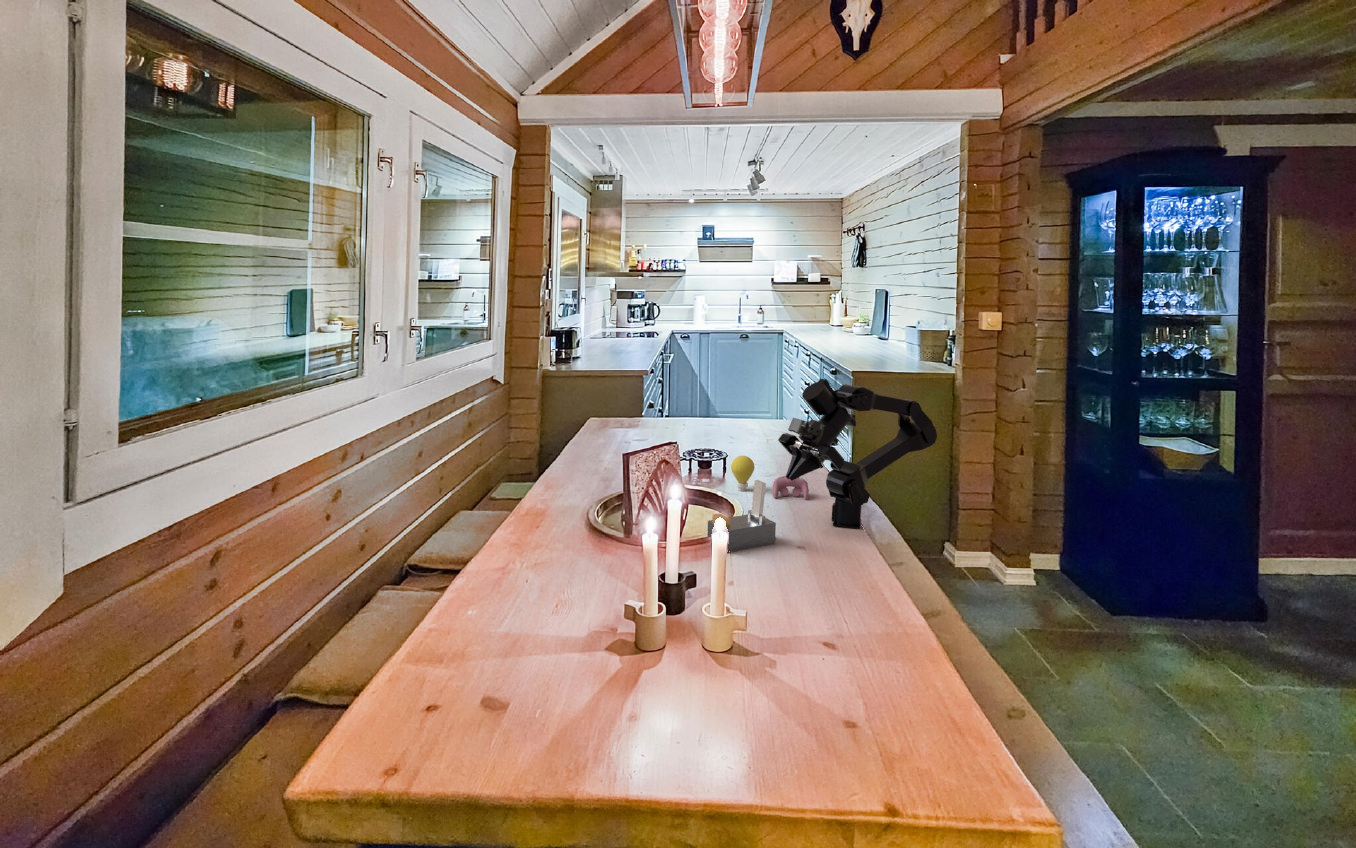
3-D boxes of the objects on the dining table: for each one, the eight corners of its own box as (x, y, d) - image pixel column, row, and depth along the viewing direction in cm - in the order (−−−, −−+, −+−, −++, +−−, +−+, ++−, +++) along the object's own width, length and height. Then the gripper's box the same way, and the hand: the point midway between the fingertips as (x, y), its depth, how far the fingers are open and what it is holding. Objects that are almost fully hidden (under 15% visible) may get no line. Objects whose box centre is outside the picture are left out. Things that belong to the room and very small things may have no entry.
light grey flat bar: (750, 516, 169) (754, 516, 170) (758, 520, 167) (761, 519, 167) (754, 480, 168) (758, 480, 169) (762, 483, 166) (765, 483, 166)
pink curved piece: (807, 502, 206) (807, 477, 208) (809, 499, 201) (809, 474, 203) (771, 501, 207) (772, 476, 209) (772, 498, 202) (773, 473, 204)
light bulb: (754, 493, 208) (755, 458, 206) (730, 493, 208) (731, 458, 206) (752, 487, 215) (753, 453, 213) (729, 486, 215) (730, 453, 213)
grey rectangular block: (755, 533, 174) (756, 504, 173) (775, 544, 167) (776, 514, 166) (707, 541, 168) (708, 512, 167) (726, 553, 161) (726, 522, 160)
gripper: (786, 400, 178) (746, 449, 175) (836, 411, 162) (794, 465, 159) (810, 429, 184) (772, 477, 180) (862, 443, 167) (821, 496, 164)
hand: (788, 478), depth 171 cm, fingers closed
